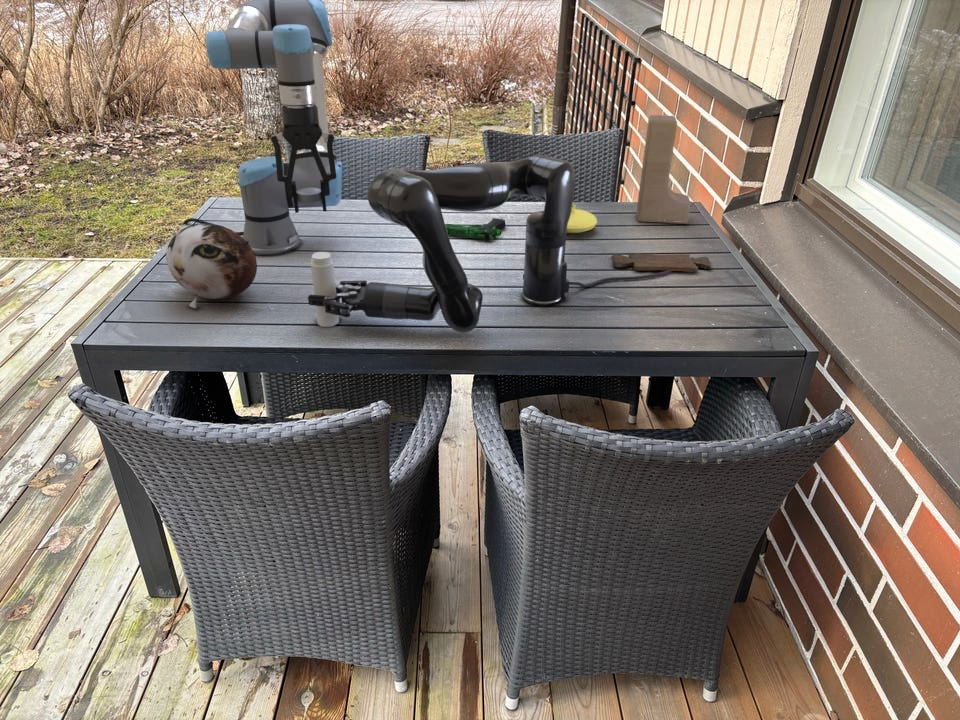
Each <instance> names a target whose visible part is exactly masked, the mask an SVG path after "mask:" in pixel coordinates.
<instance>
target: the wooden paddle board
mask: <svg viewBox="0 0 960 720" xmlns="http://www.w3.org/2000/svg"><path fill="white" fill-rule="evenodd" d="M690 258H691V254H689V253H687V254H686V253H680V254H679V253H669V254H667V253H666V254H665V253H664V254H661V253H660V254H657V253H636V252H635V253H633V252H632V253H631V252H630V253H628V256H626V255H623V254H621V253H619V254H612V255H611V261H612V264H613V267H614V268H615V269H623V268H629V267H633V270H634V271H637V272H647V271H663V272H664V271H667V270H670V271H671V272H688V273H689V272H692V273H693V272H694V273H695V272H698V271H699V269H700V268H701V269H705V270H710V269H711V262H710V259H709V256H700V257H693V259H690Z"/></svg>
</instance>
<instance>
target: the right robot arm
mask: <svg viewBox="0 0 960 720" xmlns="http://www.w3.org/2000/svg"><path fill="white" fill-rule="evenodd" d="M575 187H576V171H575V168H574V166H573V164H572V163H571V162H570V161H567V160H564V159H559V158H556V157H553V156H552V157H551V156H547V155H541V154H540V155H539V154H537V155H531V156H528V157H527V156H526V157H524V158H521V159H517V160H512V161H492V162H489V161H488V162H477V163H468V164H463V165H455V166H447V167H441V168H435V169H403V168H391V169H387V170H384V171H383V172H381V173H379V174H378V175H376V177H375V178H374V179H373V180H372V181H371V183H370V184H369V187H368V190H367V201H368V204H369V207H370V209H372V211H373V212H374V213H375V214H377V215H378V216H379V217H380V218H382V219H383V220H386V221H388V222H390V223H393V224H396V225H398V226H400V227H403V228H407V230H409V231H410V232H411V234H412V235H413V236H414V237H415V238H416V240H417V241H418V242H419V245H420V246H421V249H422V257H421V258H422V260H421V263H422V268H423V270H424V273H425V275H426V277H427V279H428V281H429V283H430V284H431V286H432V287H421V286H409V285H406V284H399V283H387V282H377V281H369V282H368V280H366V279H365V280H363V279H362V280H361V279H360V280H341V281H339V283H335V285H336V295H335V296H326V297H325V296H320V295H314V294H309V295H308V297H307V301H308V306H314V307H315V306H324V307H325V312H326V313H330V314H335V315H338V316H339V317H344V318H350V317H351V313H352V312H356V311H363V312H364V315H365V316H366V317H368V318H378V319H387V320H388V319H389V320H414V321H423V322H425V321H426V322H428V321H429V322H430V321H432V320H434V319H435V318H436V316H437V315H438V313H439V311H441V315H442V317H443V319H444V321H445V323H446V324H447V326H448V327H449V328H450V329H452V330H453V331H455V332H458V333H464V334H465V333H466V334H467V333H470V332H472V331H473V330H474V329H475V328H477V326H478V324H479V321H480V315H481V310H482V305H483V299H484V295H483V292H482V291H481V289H480V288H479V287H478V286H476V285H474V284H472V283H469V281H468V277H467V274H466V272H465V270H464V269H463V266H462V264H461V263H460V261H459V259H458V257H457V255H456V253H455V251H454V248H453V246H452V243H451V240H450V235H448V233H447V229H446V226H445V224H446V223H445V218H444V216H443V213H442V210H444V211H452V212H453V211H454V212H463V213H473V212H483V211H488V210H494V209H496V208H498V207H501V206H502V205H504V204H505V203H506V202H507V201H508V199H509V198H510V197H512V196H527V197H531V198H535V199H538V200H542V201H544V209H543V210H539V211H534V212H532V213H530V214H529V215H528V216H527V218H526V223H525V240H524V241H525V245H524V262H523V274H522V280H523V283H522V284H523V286H522V296H521V297H522V299H523V301H525V302H526V303H528V304H530V305H533V306H537V307H539V306H540V307H550V306H553V305H556V304H559V303H560V302H565V297H566V294H567V293H568V294H569V292H570V286H580V287H582V288H590V287H593V286H596V285H598V284H600V283H604V282H609V281H628V280H630V281H631V280H642V279H649V278H656V277H660V276H662V275H667V274H669V273H672V271H670V270H667V271H664V270H663V271H660V272H656V273H651V274H645V275H636V276H635V275H634V276H612V277H605V278H602V279H598V280H596V281H594V282H591V283H586V284H585V283H584V284H583V283H582V282H580V281H579V282H578V281H569V279H568V278H567V276H568V275H567V274H568V273H567V272H568V262H566V261H565V257H566V245H567V234H568V233H567V224H568V221H569V219H570V215H571V209H572V205H573V201H574V193H575ZM693 258H694V257H690V259H693ZM330 300H336V302H335V301H330ZM333 308H334V309H333Z"/></svg>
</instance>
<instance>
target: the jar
mask: <svg viewBox="0 0 960 720" xmlns="http://www.w3.org/2000/svg"><path fill="white" fill-rule="evenodd" d="M310 271H311V272H310V273H311V279H312V290H313V295H320V296H325V297H326V296H335V295H336V285H335V284H336V277H335V265H334V260H333V259H332V254H331V253H330V252H327V251H317V252H314V253H313V254H311V261H310ZM330 301H335V302H336V300H330ZM314 307H315V314H316V323H317V325H318V326H320V327H322V328H331V327H334V326H336V325H338V324H339V323H340V318H339V317H340V316H339V315H335V314H330V313H326V312H325V307H324V306H314ZM333 309H334V308H333Z"/></svg>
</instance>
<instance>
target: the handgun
mask: <svg viewBox="0 0 960 720" xmlns="http://www.w3.org/2000/svg"><path fill="white" fill-rule="evenodd" d="M445 226H446V229H447V233H448V236H454V237H462V238H469V239H470V238H471V239H474V240H479V241H484V242H491V241H492V240H494V239H495V238H497V237H500V236H502V230H504V229H505V228H506V220H505V219H503V218H497V217H492V219H491V220H490V221H489V222H488V223H483V224H482V225H479V224H472V225H459V224H453V223H445Z"/></svg>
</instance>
